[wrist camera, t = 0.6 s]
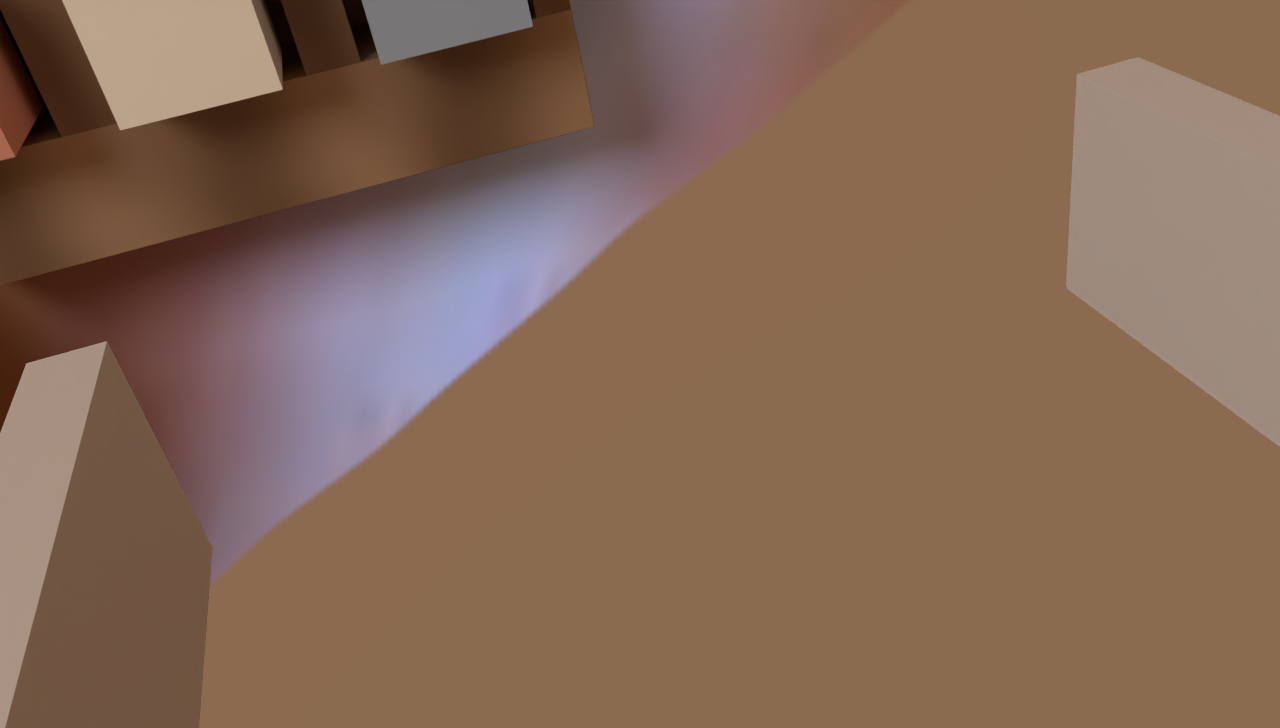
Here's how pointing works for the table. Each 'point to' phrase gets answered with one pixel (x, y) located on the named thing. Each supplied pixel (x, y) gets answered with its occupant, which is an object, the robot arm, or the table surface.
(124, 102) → the ivory key
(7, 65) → the brick key
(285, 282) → the table surface
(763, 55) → the table surface
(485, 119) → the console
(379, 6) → the slate key
